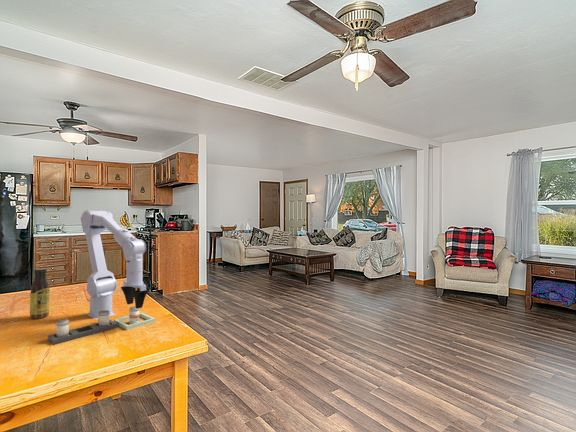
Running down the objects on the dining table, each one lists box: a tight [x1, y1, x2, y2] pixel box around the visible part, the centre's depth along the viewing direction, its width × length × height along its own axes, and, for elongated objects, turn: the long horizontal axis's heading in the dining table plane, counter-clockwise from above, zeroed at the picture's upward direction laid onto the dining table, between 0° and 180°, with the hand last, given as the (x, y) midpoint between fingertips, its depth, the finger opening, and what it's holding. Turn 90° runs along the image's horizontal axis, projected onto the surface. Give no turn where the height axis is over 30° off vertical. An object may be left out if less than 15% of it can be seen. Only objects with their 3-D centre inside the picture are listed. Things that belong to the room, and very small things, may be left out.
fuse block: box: [47, 319, 119, 346], centre depth 114 cm, size 7×20×2 cm, turn 141°
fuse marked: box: [128, 306, 141, 325], centre depth 125 cm, size 4×4×6 cm
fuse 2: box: [97, 310, 110, 327], centre depth 119 cm, size 4×4×6 cm
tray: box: [113, 312, 156, 331], centre depth 125 cm, size 11×11×2 cm
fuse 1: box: [55, 319, 70, 338], centre depth 109 cm, size 4×4×6 cm
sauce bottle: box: [29, 267, 50, 320], centre depth 132 cm, size 7×6×20 cm
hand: (134, 305), depth 125 cm, fingers open, 7 cm apart
